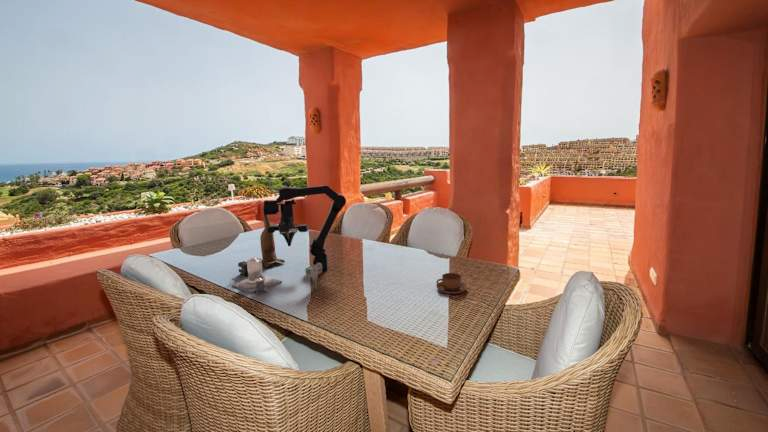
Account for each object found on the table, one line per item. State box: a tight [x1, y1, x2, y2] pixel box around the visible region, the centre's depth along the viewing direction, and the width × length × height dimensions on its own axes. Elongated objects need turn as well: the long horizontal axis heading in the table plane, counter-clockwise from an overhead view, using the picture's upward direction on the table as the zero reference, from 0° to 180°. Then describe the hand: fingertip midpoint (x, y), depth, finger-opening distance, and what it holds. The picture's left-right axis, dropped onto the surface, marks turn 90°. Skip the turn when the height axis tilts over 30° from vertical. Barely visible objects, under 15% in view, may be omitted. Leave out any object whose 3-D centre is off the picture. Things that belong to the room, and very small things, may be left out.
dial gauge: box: [254, 277, 268, 296], centre depth 142 cm, size 4×4×6 cm
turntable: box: [231, 274, 283, 294], centre depth 152 cm, size 15×15×2 cm
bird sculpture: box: [259, 204, 286, 269], centre depth 178 cm, size 11×12×32 cm
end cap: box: [237, 258, 265, 278], centre depth 166 cm, size 10×7×7 cm
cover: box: [245, 257, 266, 284], centre depth 151 cm, size 8×8×10 cm
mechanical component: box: [304, 263, 323, 290], centre depth 144 cm, size 3×10×10 cm, turn 161°
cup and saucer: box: [436, 272, 467, 295], centre depth 139 cm, size 12×12×6 cm
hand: (289, 246), depth 166 cm, fingers closed
